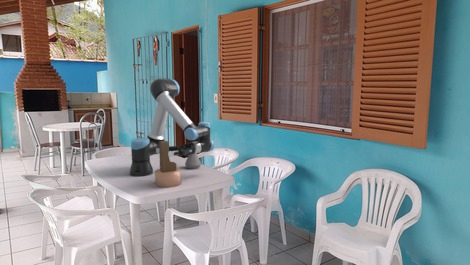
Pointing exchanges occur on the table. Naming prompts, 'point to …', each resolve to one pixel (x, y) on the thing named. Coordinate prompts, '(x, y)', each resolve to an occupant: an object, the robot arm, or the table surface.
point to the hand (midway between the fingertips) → (162, 152)
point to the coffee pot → (193, 161)
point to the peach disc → (167, 178)
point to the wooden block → (165, 158)
